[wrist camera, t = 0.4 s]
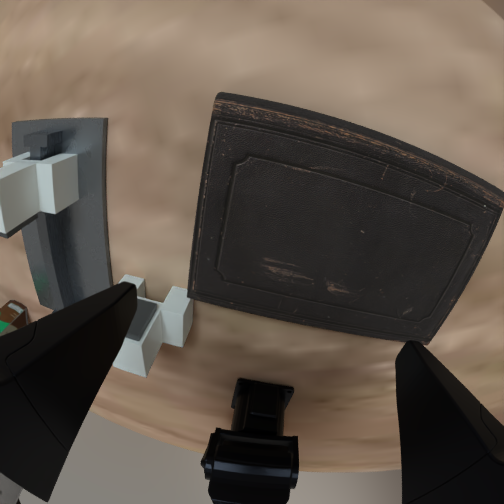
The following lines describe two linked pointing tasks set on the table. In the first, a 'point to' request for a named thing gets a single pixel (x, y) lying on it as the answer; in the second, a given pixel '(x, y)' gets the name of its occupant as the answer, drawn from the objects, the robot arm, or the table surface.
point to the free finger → (154, 327)
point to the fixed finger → (35, 189)
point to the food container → (12, 317)
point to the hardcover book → (333, 223)
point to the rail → (68, 212)
